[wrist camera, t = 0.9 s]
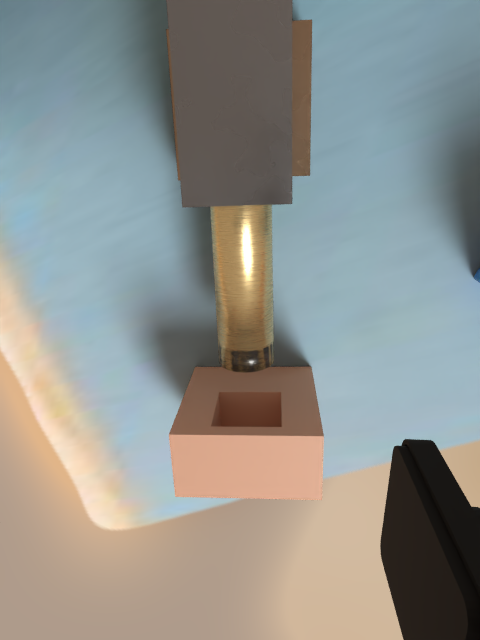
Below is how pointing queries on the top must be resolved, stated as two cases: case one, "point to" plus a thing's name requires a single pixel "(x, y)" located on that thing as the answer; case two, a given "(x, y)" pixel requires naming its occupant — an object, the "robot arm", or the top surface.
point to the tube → (243, 286)
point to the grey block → (239, 100)
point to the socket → (248, 435)
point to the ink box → (477, 275)
